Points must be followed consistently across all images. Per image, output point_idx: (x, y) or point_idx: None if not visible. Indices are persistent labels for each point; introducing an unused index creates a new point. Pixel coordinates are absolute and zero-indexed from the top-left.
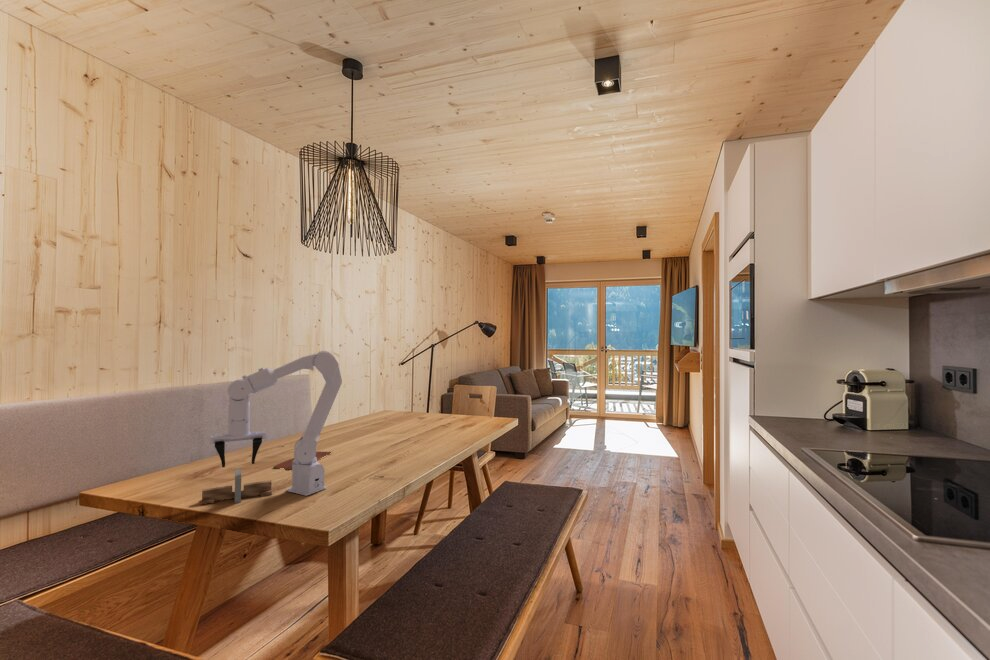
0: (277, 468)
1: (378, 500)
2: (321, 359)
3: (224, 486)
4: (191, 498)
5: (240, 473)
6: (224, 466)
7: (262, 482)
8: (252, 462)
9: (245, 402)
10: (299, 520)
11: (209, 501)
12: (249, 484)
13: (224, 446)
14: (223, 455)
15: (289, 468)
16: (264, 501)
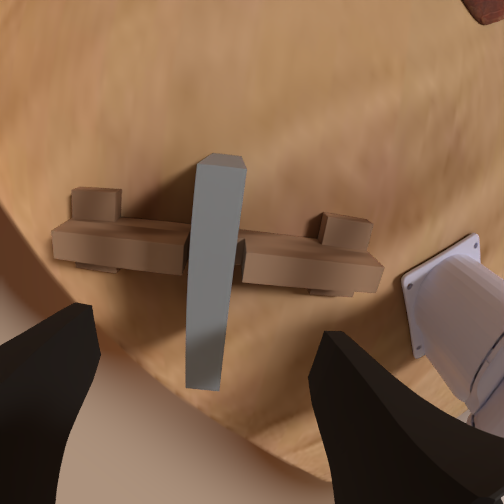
0: None
1: (462, 412)
2: None
3: (143, 243)
4: (44, 146)
5: (223, 306)
6: (96, 361)
7: (338, 283)
8: (314, 391)
9: None
10: (319, 459)
11: (102, 268)
12: (273, 281)
13: (16, 493)
14: (58, 448)
15: (470, 1)
16: (301, 345)
